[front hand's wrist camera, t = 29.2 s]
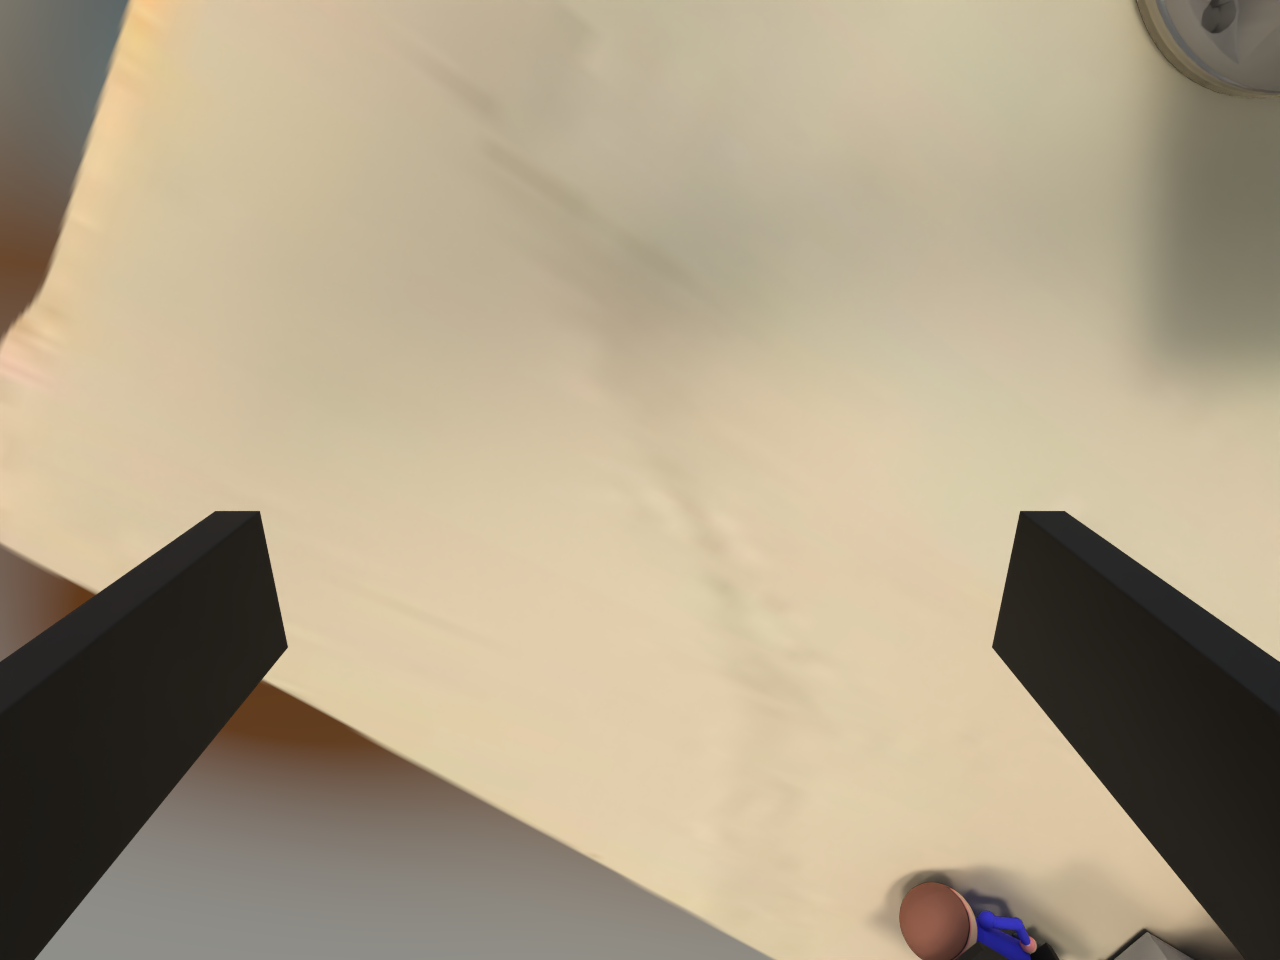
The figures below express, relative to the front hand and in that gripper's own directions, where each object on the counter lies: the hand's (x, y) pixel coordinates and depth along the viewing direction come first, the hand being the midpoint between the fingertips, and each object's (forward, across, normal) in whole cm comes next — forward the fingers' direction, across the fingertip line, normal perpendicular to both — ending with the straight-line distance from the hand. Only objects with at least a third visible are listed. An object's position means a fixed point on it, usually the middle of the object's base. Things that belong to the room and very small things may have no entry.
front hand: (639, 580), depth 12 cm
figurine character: (+26, -25, +43) cm, 56 cm away
